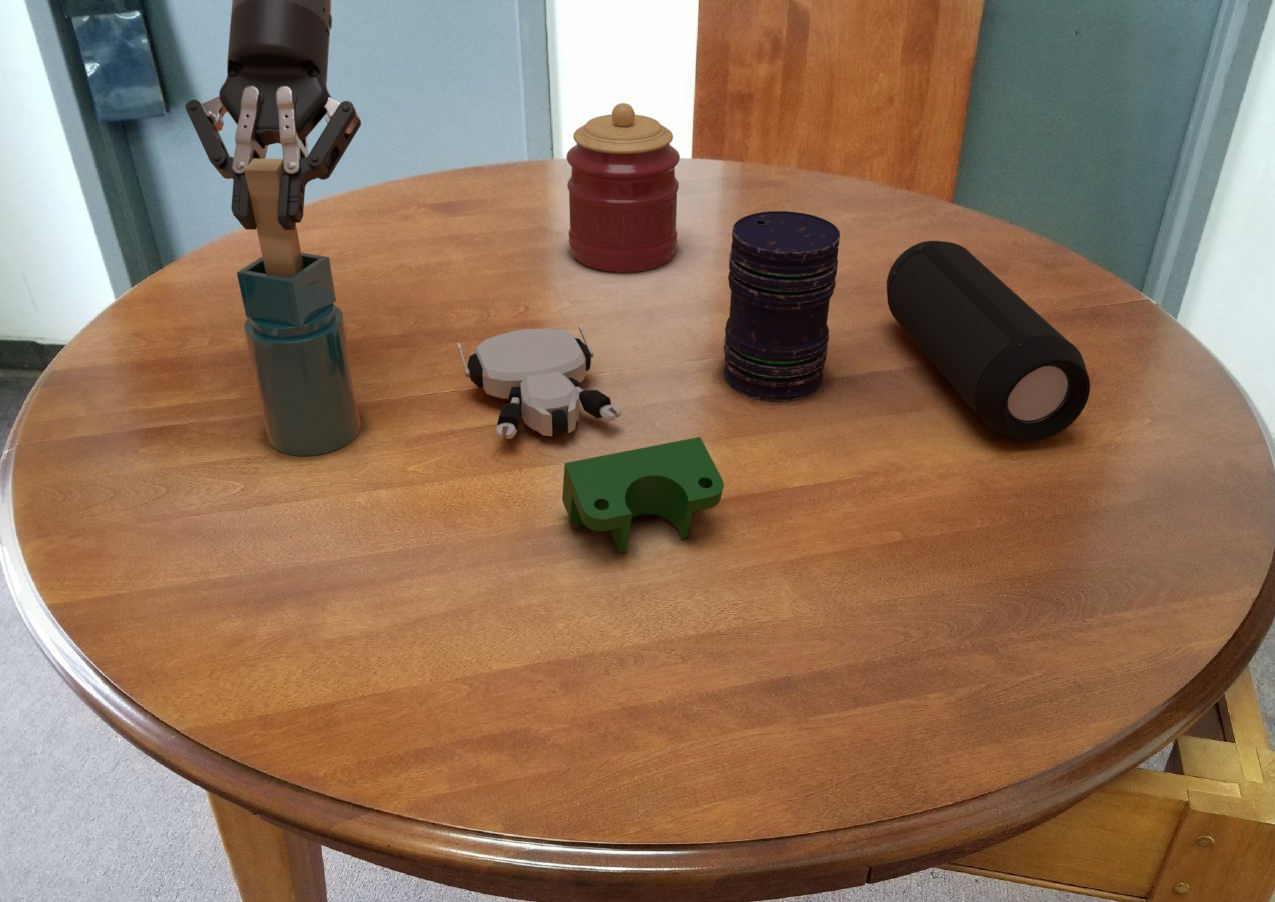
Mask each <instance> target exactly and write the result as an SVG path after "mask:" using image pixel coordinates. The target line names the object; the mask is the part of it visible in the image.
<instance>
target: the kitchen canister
mask: <svg viewBox="0 0 1275 902" xmlns="http://www.w3.org/2000/svg"><path fill="white" fill-rule="evenodd" d="M572 137H573V140H574V142H575V143H576V144H575V145H574V146H572V147H571V148H570V149H569V150H568V151H567V153H566V157H565V158H566V161H567V163H568V165H570V167H571V170H570V171H571V174H570V177H569V178H568V180H567V184H566V186H567V187H566V188H567V190H568V203H569V207H568V208H569V230H568V243H569V246H570V250H571V251H570V252H571V255H572V256H573V258H574V259H575V260H576V261H578V262H579V263H581V265H585V266H587V267H590V268H593V269H596V270H600V271H607V272H617V273H618V272H619V273H625V272H626V273H630V272H641V271H647V270H650V269H654V268H657V267H660V266H662V265H664V264H666V263H667V262H669V261H671V259H672V258H673V257H674V255H675V252H676V247H677V246H678V245H677V244H678V230H677V209H678V191H679V187H680V183H679V181H678V178H677V177H676V168H675V167H676V166H677V165H678V164H679V163H680V160H681V155H680V153H679V151H678V150H677V149H676V148H675V147H674V146H672V145H671V143H672V142H673V140H674V134H673V132H672V131H671V129H669V128H668V127H666V126H664V125H662V124H661V123H660V122H659V121H658V120H657V119H656V118H652V117H650V116H646V115H643V114H635V109H634V108H633V106H631V105H630V104H628V103H626V102H621V103H617V104H616V105H615V106H614V107H613V109H612V111H611V114H605V115H600V116H596V117H593V118H591V119H589V120H588V121H587V122H586V123H585V124H584V125H582V126H580V127H578V128H577V129H576V130H575V131H574V132H573V136H572Z"/></svg>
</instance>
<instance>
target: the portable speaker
mask: <svg viewBox="0 0 1275 902" xmlns="http://www.w3.org/2000/svg"><path fill="white" fill-rule="evenodd" d="M886 296H887V297H886V298H887V305H888V309H889V311H890V314H891V315H892V317H893V318H894V319H895V321H896V322H897V324H898V325H899V326H900V327H901V329H903V330H904V332H905V333H906V334H907V335H908V336H909V337H910V339H912V341H913V342H914V343H915V344H916V346H918V348H919V349H920V350H921V352H923V354H924V355H925V356H926V357H927V358H928V360H929V361H930V363H932V364H933V365H934V366H935V368H936V369H937V370H938V371H939V372H940V373H941V375H942V376H943V377H944V378H945V379H946V380H947V382H948V383H949V384H950V385H951V386H952V387H953V389H954V390H955V391H956V392H957V393H958V395H959V396H960V397H961V398H962V399H963V400H964V401H965V402H966V404H967V405H968V406H969V407H970V408H971V409H972V411H973V412H974V413H975V414H976V415H977V416H978V418H979V419H980V420H981V421H982V422H983V423H984V424H985V425H986V426H987V427H988V429H990V430H992V431H994V432H996V433H998V434H1001V435H1004V436H1007V437H1008V438H1013V439H1015V440H1019V441H1021V442H1039V441H1040V442H1041V441H1044V440H1047V439H1048V438H1049V439H1050V438H1052V437H1054V436H1057V435H1058V434H1059V433H1061V432H1063V431H1064V430H1066V429H1068V428H1069V427H1070V426H1071V425H1072V424H1073V423H1074V422H1075V421H1076V420H1077V419H1078V418H1079V417H1080V416H1081V414H1082V412H1083V411H1084V409H1085V408H1086V405H1087V403H1088V400H1089V397H1090V392H1091V380H1090V376H1089V373H1088V369H1087V366H1086V362H1085V360H1084V358H1083V356H1082V353H1081V351H1080V350H1079V349H1078V348H1077V346H1076V345H1074V344H1073V343H1072V342H1070V341H1069V340H1068V339H1067V338H1066V337H1065V336H1063V334H1062V333H1060V332H1059V331H1058V330H1057V329H1056V328H1055V327H1054V326H1053V325H1052V324H1050V323H1049V322H1048V321H1047V320H1046V319H1045V318H1044V317H1042V316H1041V315H1040V314H1039V313H1038V312H1037V311H1036V310H1035V309H1034V308H1032V307H1031V306H1030V305H1029V304H1028V303H1027V302H1025V300H1024V299H1022V298H1021V297H1020V296H1019V295H1018V294H1017V293H1016V292H1015V291H1013V289H1011V288H1010V287H1009V286H1008V285H1007V284H1006V283H1005V282H1004V281H1002V280H1001V279H1000V278H999V277H998V276H997V275H996V274H994V272H993V271H991V270H990V269H989V268H988V267H987V266H986V265H984V264H983V263H982V262H981V261H980V260H979V259H978V258H977V257H976V256H974V255H973V254H972V253H971V251H970V250H968V249H967V248H966V247H964V246H962V245H960V244H957V243H955V242H953V241H952V242H951V241H941V240H926V241H922V242H918V243H916V244H914V245H912V246H910V247H908V248H907V249H906V250H904V251H903V252H902V253H901V254H899V256H898V257H897V258H896V259H895V260H894V262H893V264H892V266H891V267H890V269H889V272H888V275H887V278H886Z"/></svg>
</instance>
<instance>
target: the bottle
mask: <svg viewBox="0 0 1275 902" xmlns="http://www.w3.org/2000/svg"><path fill="white" fill-rule="evenodd" d="M301 254H302V260H303V265H304V269H303V270H302V271H300V272H299V273H297V274H296V275H294V276H293V277H291V278H286V277H280V276H274V275H269V274H266V271H265V267H264V262H263V257H262V256H261V257H259V258H258V259H256V260H254V261H252V262H251V263H250V264H248V265H246V266H245V267H243V268H241V269H240V270H238V271H236V277H237V281H238V285H239V291H240V294H241V299H242V304H243V309H244V313H245V317H246V319H245V321H244V324H243V330H244V335H245V340H246V344H247V349H248V353H249V358H250V363H251V367H252V372H253V377H254V382H255V386H256V391H257V394H258V399H259V404H260V408H261V415H262V418H263V422H264V427H265V431H266V436H267V440H268V444H270V446H271V447H272V448H273V449H275V450H276V451H278V452H280V453H283V454H286V455H289V456H290V455H291V456H297V457H309V456H311V457H312V456H319V455H324V454H328V453H331V452H334V451H337V450H339V449H341V448H343V447H345V446H347V445H348V444H350V443H351V442H352V441H353V440H354V439H355V438H356V437H357V436H358V435H359V433H360V431H361V428H362V427H361V420H360V413H359V406H358V405H359V404H358V399H357V393H356V387H355V381H354V376H353V368H352V362H351V356H350V349H349V343H348V338H347V331H346V330H347V329H346V323H345V317H344V313H343V311H342V310H341V309H340V308H339V306H337V305H335V304H334V303H335V302H336V301H337V299H336V293H335V291H336V290H335V285H334V279H333V274H332V267H331V262H330V261H331V260H330V257H329V256H325V255H318V254H312V253H306V252H301Z"/></svg>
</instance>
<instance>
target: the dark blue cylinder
mask: <svg viewBox="0 0 1275 902" xmlns="http://www.w3.org/2000/svg"><path fill="white" fill-rule="evenodd" d="M731 232H732V233H731V240H732V241H731V246H730V253H729V258H728V259H729V260H728V269H729V272H728V275H727V279H728V286H729V289H730V300H729V301H730V303H729V304H730V305H729V317H728V318H727V319H726V322H725V328H724V332H725V333H724V334H725V336H724V340H723V341H724V342H723V353H724V366H723V378H724V380H725V383H726V384H727V385H728V386H729V387H730V388H731V389H733V390H734V391H736V392H737V393H739V394H741V395H743V396H745V397H748V398H753V399H756V400H760V401H767V402H790V401H796V400H802V399H804V398H807V397H809V396H811V395H813V394H814V393H816V392H817V391H818V390H819V389H821V386H822V384H823V379H824V372H823V371H824V369H825V364H826V361H827V358H828V357H827V356H828V351H829V350H828V348H829V345H828V344H829V341H830V335H829V334H830V329H829V326H828V319H829V311H830V310H829V309H830V303H831V302H830V301H831V298H832V297H833V295H834V290H835V289H836V285H837V282H836V277H837V275H838V274H837V273H838V266H839V259H838V256H839V246H840V240H841V231H840V229H839V228H838V227H837V226H836V225H835V224H834V223H832V222H830V221H829V220H827V219H824V218H822V217H820V216H817V215H813V214H810V213H804V212H798V211H790V210H789V211H788V210H775V211H774V210H772V211H769V210H768V211H761V212H755V213H751V214H748V215H746V216H743V217H741V218H739V219H738V220H737V221H735V222H734V224H733V225H732V231H731Z"/></svg>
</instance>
